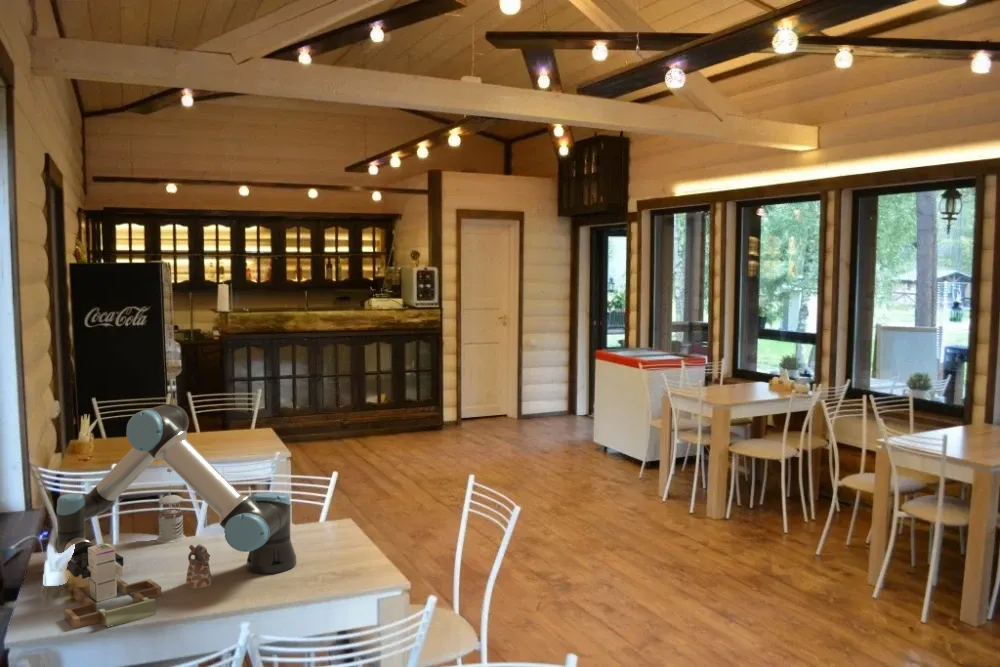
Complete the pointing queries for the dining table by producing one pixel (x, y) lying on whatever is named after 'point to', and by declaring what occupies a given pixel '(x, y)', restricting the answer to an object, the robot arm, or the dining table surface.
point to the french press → (170, 519)
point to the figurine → (198, 568)
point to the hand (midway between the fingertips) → (108, 574)
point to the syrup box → (103, 572)
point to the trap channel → (121, 615)
